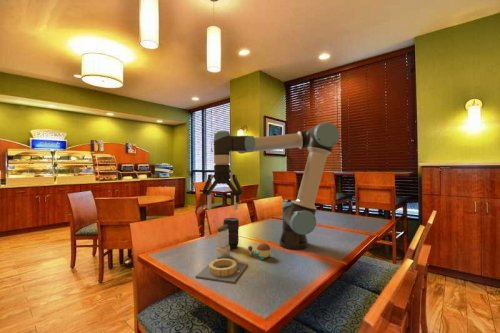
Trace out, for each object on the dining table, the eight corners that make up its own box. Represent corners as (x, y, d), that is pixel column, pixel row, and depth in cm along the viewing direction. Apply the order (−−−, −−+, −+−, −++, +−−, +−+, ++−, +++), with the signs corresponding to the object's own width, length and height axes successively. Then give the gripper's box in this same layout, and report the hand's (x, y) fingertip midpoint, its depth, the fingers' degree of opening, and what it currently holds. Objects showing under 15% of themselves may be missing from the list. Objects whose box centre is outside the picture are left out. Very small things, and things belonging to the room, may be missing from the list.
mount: (247, 265, 101) (247, 258, 101) (234, 283, 86) (234, 275, 86) (213, 261, 106) (213, 254, 106) (195, 277, 90) (195, 269, 90)
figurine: (260, 254, 116) (258, 241, 117) (274, 256, 109) (272, 241, 110) (249, 259, 111) (246, 244, 112) (263, 261, 104) (261, 246, 105)
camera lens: (236, 250, 119) (236, 221, 119) (221, 249, 120) (221, 220, 120) (240, 245, 127) (240, 217, 127) (226, 244, 128) (225, 217, 128)
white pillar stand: (232, 254, 114) (232, 224, 114) (225, 261, 106) (225, 229, 105) (220, 252, 116) (220, 223, 116) (212, 259, 107) (212, 228, 107)
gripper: (249, 163, 111) (249, 208, 111) (202, 164, 118) (202, 206, 118) (244, 163, 104) (244, 211, 104) (194, 164, 111) (195, 209, 111)
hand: (222, 209), depth 111 cm, fingers open, 13 cm apart
